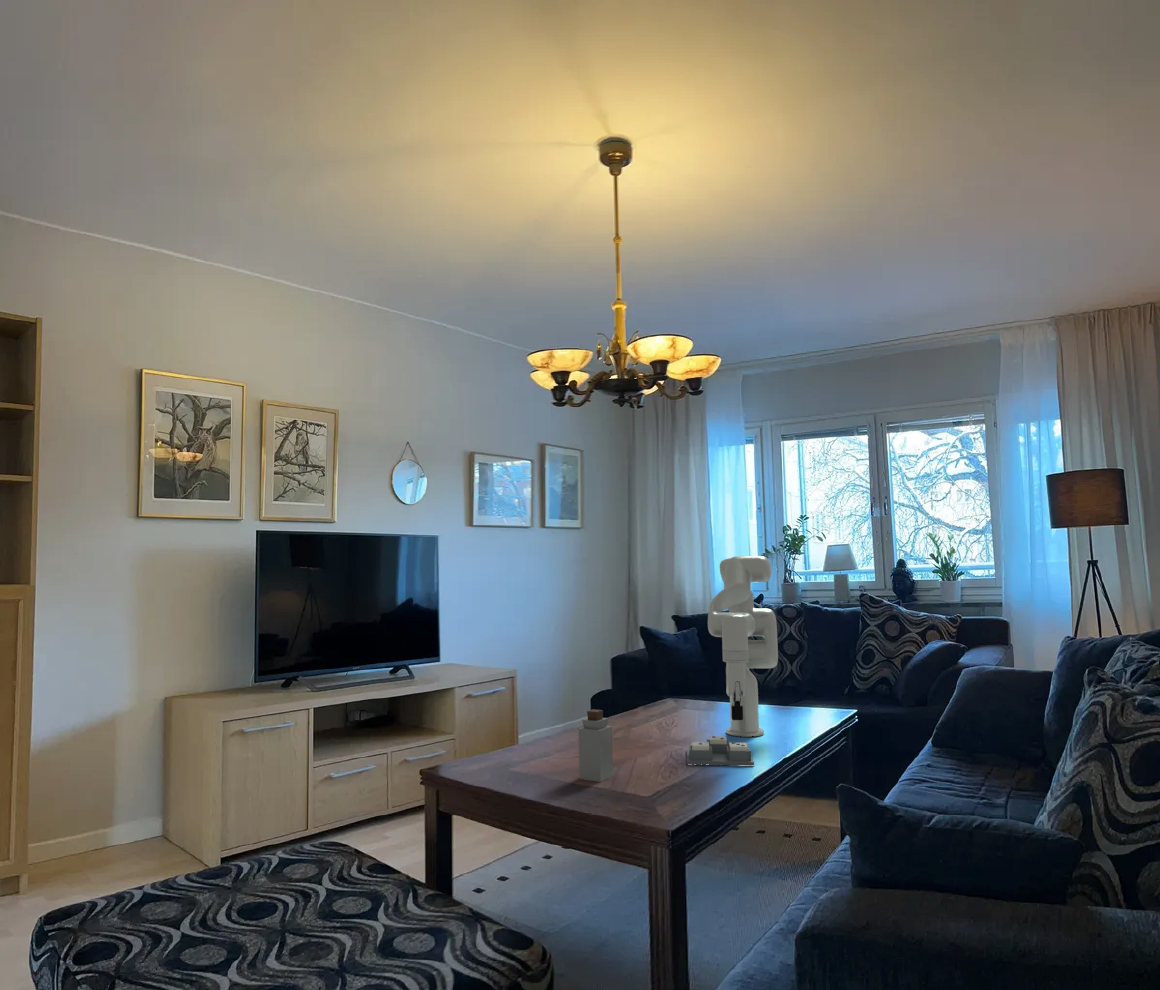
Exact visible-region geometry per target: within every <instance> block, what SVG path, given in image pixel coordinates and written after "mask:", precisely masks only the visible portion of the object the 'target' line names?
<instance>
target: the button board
mask: <svg viewBox="0 0 1160 990" xmlns="http://www.w3.org/2000/svg"><path fill="white" fill-rule="evenodd" d="M706 742H709V739H706ZM729 743H730V741H729V739H727V744H710V743H709V750H692V745H688V746H687V747H686V765H687V764H692V765H691V766H695V765H694V764H696V765H701V764H702V765H706V764H709V765H754V766H755V761H754V759H753V755H752V751H751V748H750V746H748V745H747V746H748V751H730V750H729Z"/></svg>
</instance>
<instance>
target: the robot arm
mask: <svg viewBox="0 0 1160 990" xmlns="http://www.w3.org/2000/svg"><path fill="white" fill-rule="evenodd" d="M719 573H720V577H721V580H722V582H723V589H721V590H720V591H719V592H718V593H717V594H715V596H714V597H713V599H712V600H711V602H709V603H710V604H709V606H708V614H707V629H708V632H709V634H710V635H711V636H713V637H716V638H721V641H722V645H721V646H722V647H721V648H722V662H724V663H725V665H726V666H725V682H726V683H725V684H726V686H725V687H726V690H725V691H726V692H725V693H726V695H727V696H728V697H729V712H730V713H729V714H730V727H727V728H726V729H725V733H726V734H727V735H729V736H733V737H740V736H741V737H745V738H748V737H749V738H753V737H752V736H754V737H760V736H762V735H764V734H765V733H764V731H765V730H764V729H763V728H760V721H759V719H760V718H759V717H760V716H759V696H758V695H759V691H758V690H759V688H758V680H757V678H756V676H755V675H754V674H753V672H752V671H751V670H750V669H774V668H776V667H777V665H778V661H779V649H778V647H779V645H778V628H777V627H778V625H777V618H776V614H775V612H774V610H772V609H770V608H766V607H765V608H762V607H761V608H760V607H759V608H756V607H755V605H754V604H755V603H754V594H753V591H752V590H751V588H752V586H751V585H752V584H751V583H767V582H769V581H770V579H771V577H772V565H771V562H770V560H769V558H767V556H763V555H745V556H744V555H737V556H732V557H730V558H724V559H723V560H722V561H720V563H719ZM725 610H728V612H727V611H726V612H725ZM723 611H724V612H723ZM749 637H762V638H763V639H756V640H755V639H749Z"/></svg>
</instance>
